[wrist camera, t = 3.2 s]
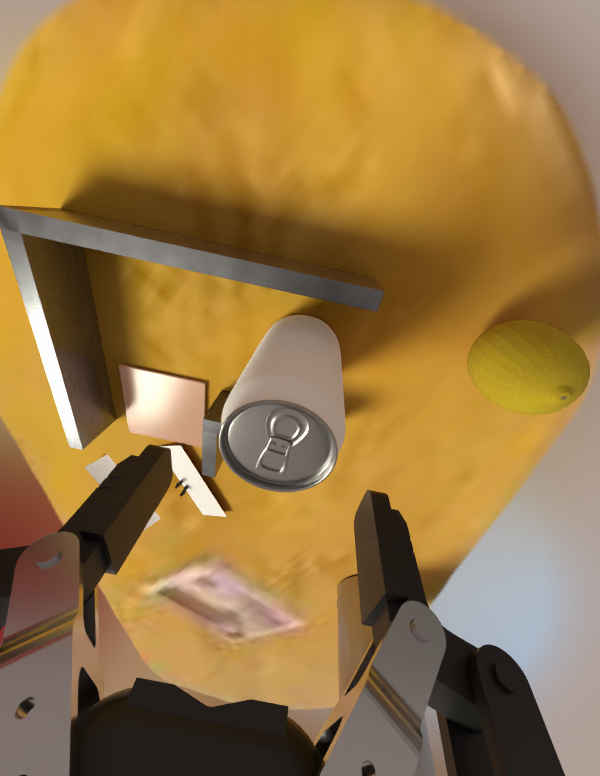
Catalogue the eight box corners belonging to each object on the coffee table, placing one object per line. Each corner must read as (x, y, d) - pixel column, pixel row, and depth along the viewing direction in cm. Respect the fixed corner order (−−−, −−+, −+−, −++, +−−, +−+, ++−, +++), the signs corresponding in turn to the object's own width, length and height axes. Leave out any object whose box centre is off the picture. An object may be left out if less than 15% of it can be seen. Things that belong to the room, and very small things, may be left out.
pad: (206, 382, 26) (204, 383, 26) (204, 445, 30) (203, 447, 30) (120, 363, 26) (118, 365, 25) (131, 430, 30) (129, 432, 30)
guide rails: (373, 278, 20) (384, 291, 16) (316, 462, 30) (314, 498, 26) (59, 208, 20) (-8, 204, 16) (104, 417, 29) (69, 446, 25)
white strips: (230, 507, 36) (225, 520, 34) (149, 518, 38) (142, 531, 37) (185, 435, 30) (177, 447, 29) (95, 454, 33) (83, 466, 31)
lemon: (537, 299, 20) (647, 340, 13) (524, 369, 22) (610, 434, 15) (452, 314, 21) (512, 359, 14) (449, 379, 23) (498, 444, 16)
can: (353, 328, 22) (371, 420, 12) (324, 394, 25) (318, 511, 15) (274, 300, 21) (221, 371, 11) (255, 371, 25) (200, 476, 14)
